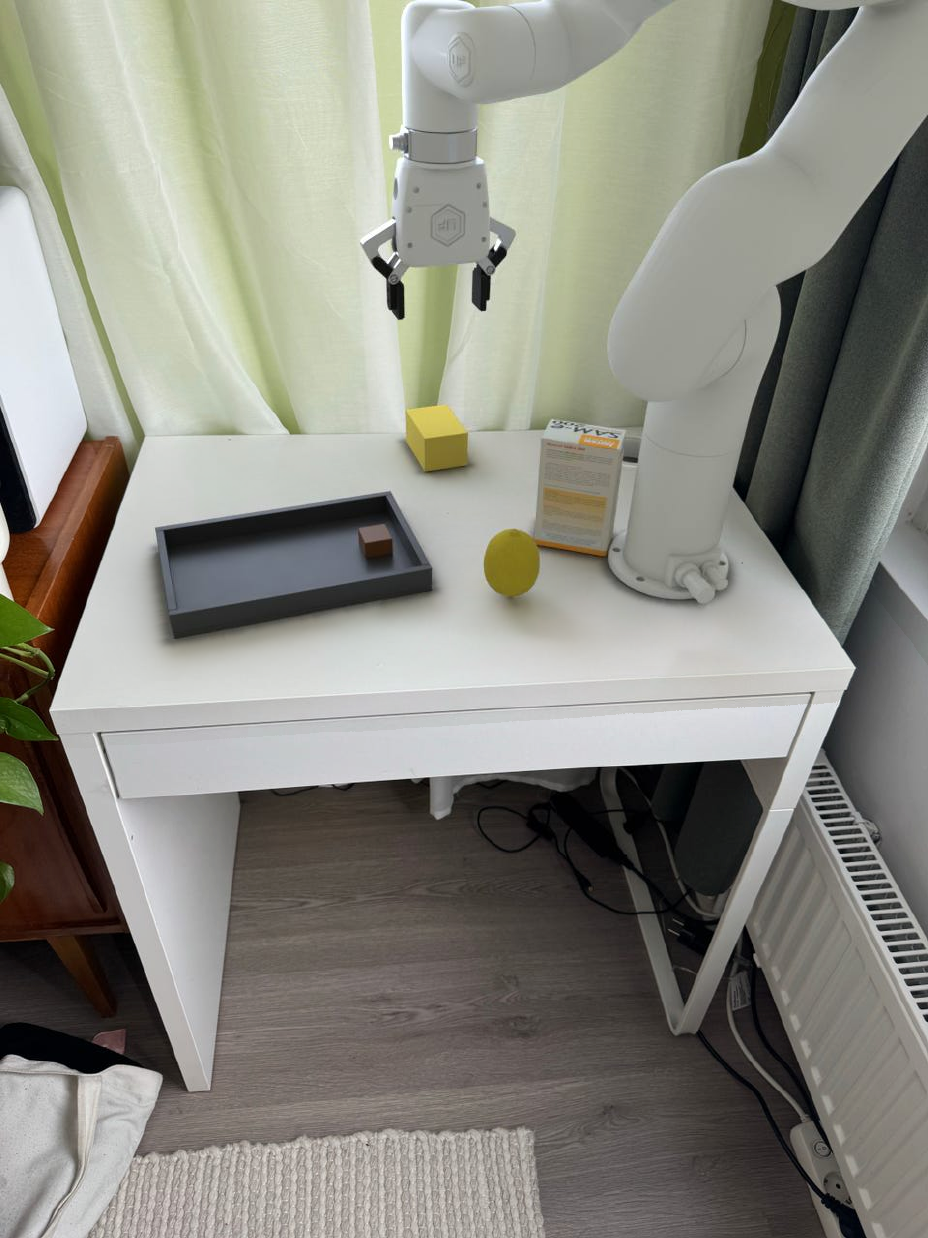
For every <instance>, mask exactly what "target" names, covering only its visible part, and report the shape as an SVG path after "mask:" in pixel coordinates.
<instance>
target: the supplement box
mask: <svg viewBox="0 0 928 1238" xmlns="http://www.w3.org/2000/svg"><path fill="white" fill-rule="evenodd" d="M626 438H627V430H626V429H621V428H614V427H607V426H600V425H595V424H586V423H580V422H575V421H574V422H573V421H567V420H561V419H553V418H551V419H550V420H549V422H548V424H547V426H546V428H545V429H544V432H543V434H542V435H541V438H540V451H539V465H538V477H537V479H538V480H537V490H536V491H537V493H536V505H535V507H536V508H535V520H534V521H535V522H534V538H533V539H534V541H535V543H536V545H537V546H542V547H543V546H544V547H548V548H553V549H559V550H566V551H572V552H577V553H582V554H589V555H593V556H599V557H605V558H606V557H607V556H608V552H609V547H610V544H611V542H612V540H613V535H614V528H615V522H616V515H617V514H616V513H617V505H618V498H619V491H620V484H621V476H622V469H623V462H624V454H625V446H626Z"/></svg>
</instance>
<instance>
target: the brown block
mask: <svg viewBox="0 0 928 1238" xmlns="http://www.w3.org/2000/svg"><path fill="white" fill-rule="evenodd" d="M358 539H359V545H360V547H361V549H362V551H363V554H364V556H365V558H372V557H378V556H383V555H389V554H393V539H392V537H391V535H390V533H389V531H388V529H387V527H386V525H385V524H381V525H375V526H369V527H363V528H358Z"/></svg>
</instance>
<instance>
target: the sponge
mask: <svg viewBox="0 0 928 1238" xmlns="http://www.w3.org/2000/svg"><path fill="white" fill-rule="evenodd" d="M405 440H406V444H407V445H408V447H409V448H410V450H411V452H412V453H413V455H414V457H415V458H416V460H417V462H418V463H419V466H421V468H422V470H423V472H432V471H438V470H439V471H440V470H445V469H453V468H460V467H466V466H468V448H469V447H468V445H469V444H468V443H469V432H468V431H467V429H466V427H464V425H463V423H461V421H460V420H459V419H458V417H457V416H456V414H455V413H454V411H453V410H452V409H451V407H450V406H449V404H439V405H432V406H425V407H424V406H423V407H417V408H409V409H406V410H405Z"/></svg>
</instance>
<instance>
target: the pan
mask: <svg viewBox="0 0 928 1238" xmlns="http://www.w3.org/2000/svg"><path fill="white" fill-rule="evenodd" d="M381 524H385V525H386V527H387V529H388V531H389V533H390V535H391V537H392V539H393V554H389V555H383V556H378V557H372V558H365V556H364V554H363V551H362V549H361V547H360V545H359V539H358V528H363V527H369V526H375V525H381ZM154 531H155V535H156V543H157V549H158V555H159V561H160V567H161V575H162V581H163V588H164V594H165V600H166V607H167V612H168V619H169V622H170V627H171V631H172V635H173V639H179V638H185V637H190V636H196V635H202V634H206V633H212V632H217V631H218V632H219V631H222V630H228V629H229V630H230V629H233V628H238V627H244V626H249V625H250V626H251V625H255V624H260V623H267V622H271V621H275V620H281V619H287V618H292V617H297V616H302V615H307V614H313V613H319V612H323V611H324V612H325V611H329V610H335V609H340V608H345V607H350V606H356V605H362V604H366V603H371V602H373V603H374V602H378V601H383V600H388V599H389V600H390V599H394V598H398V597H399V598H400V597H403V596H410V595H416V594H421V593H427V592H431V591H433V567H432V565H431V563H430V562H429V559H428V558H427V556H426V554H425V552H424V551H423V549H422V547H421V545H420V543H419V541H418V540H417V537H416V535H415V533H414V531H413V529H412V527H410V525H409V523H408V521H407V519H406V517H405V515H404V513H403V512H402V509H401V508H400V506H399V504H398V503H397V500H396V498H395V496H394V495H393V493H392V491H391V490H389V491H382V492H376V493H368V494H363V495H356V496H349V497H343V498H342V497H341V498H337V499H330V500H323V501H317V502H311V503H305V504H298V505H292V506H285V507H284V506H283V507H279V508H271V509H265V510H260V511H259V510H258V511H252V512H245V513H240V514H239V513H238V514H233V515H227V516H220V517H213V518H207V519H201V520H194V521H190V522H189V521H188V522H182V523H174V524H169V525H162V526H156V527H154Z"/></svg>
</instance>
